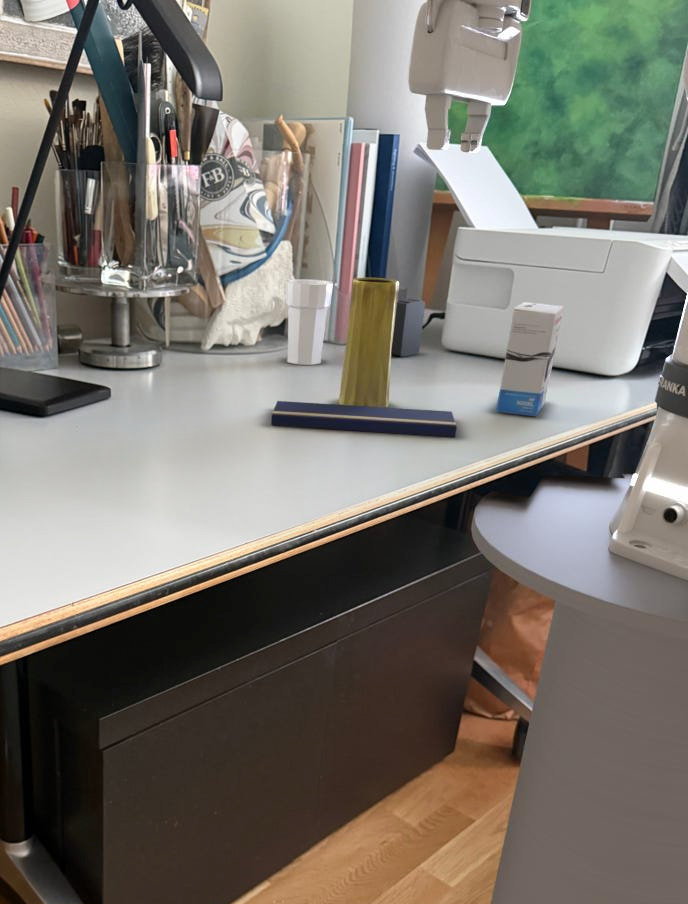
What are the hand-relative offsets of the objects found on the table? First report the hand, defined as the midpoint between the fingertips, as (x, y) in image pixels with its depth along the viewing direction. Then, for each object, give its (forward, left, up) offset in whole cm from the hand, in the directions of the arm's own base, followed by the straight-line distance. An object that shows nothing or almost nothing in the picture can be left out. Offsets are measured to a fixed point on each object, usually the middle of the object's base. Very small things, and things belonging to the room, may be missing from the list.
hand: (454, 151), depth 97 cm
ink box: (0, -14, -28) cm, 31 cm away
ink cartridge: (+35, -20, -28) cm, 49 cm away
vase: (+6, +4, -28) cm, 29 cm away
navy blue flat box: (-1, +9, -27) cm, 29 cm away
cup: (+34, -2, -28) cm, 44 cm away
